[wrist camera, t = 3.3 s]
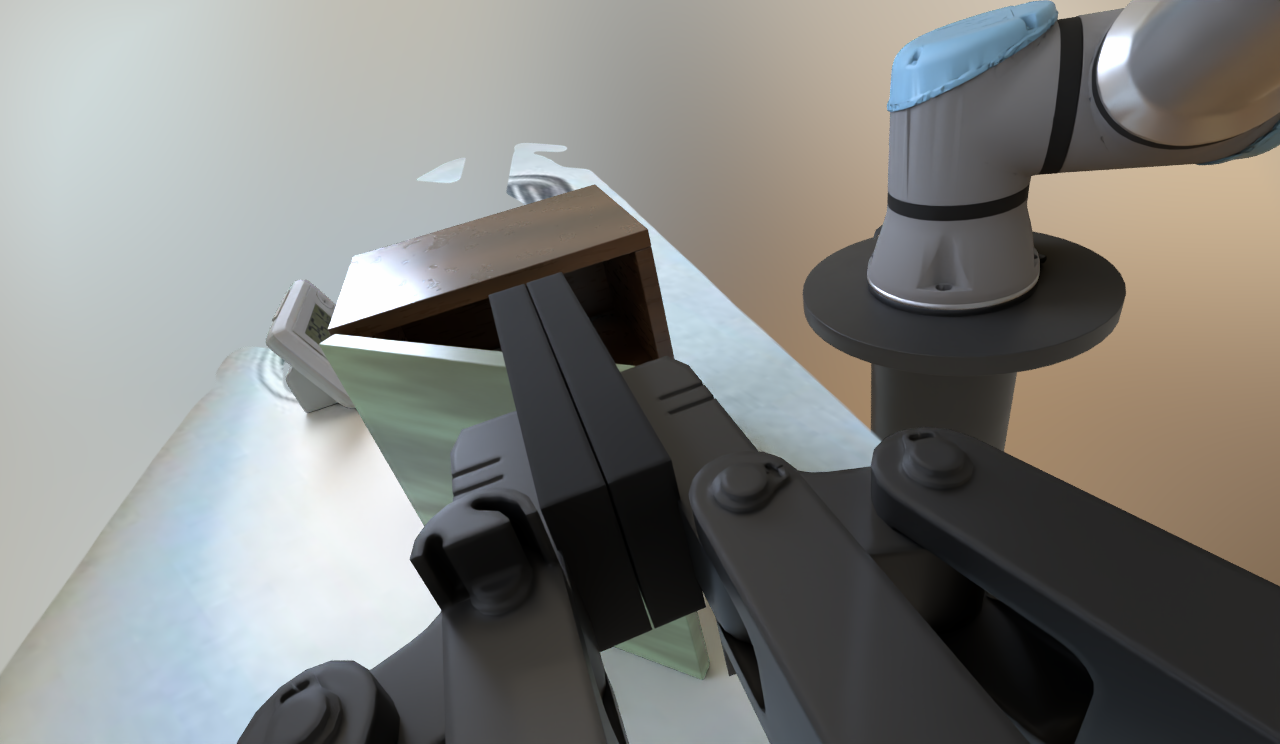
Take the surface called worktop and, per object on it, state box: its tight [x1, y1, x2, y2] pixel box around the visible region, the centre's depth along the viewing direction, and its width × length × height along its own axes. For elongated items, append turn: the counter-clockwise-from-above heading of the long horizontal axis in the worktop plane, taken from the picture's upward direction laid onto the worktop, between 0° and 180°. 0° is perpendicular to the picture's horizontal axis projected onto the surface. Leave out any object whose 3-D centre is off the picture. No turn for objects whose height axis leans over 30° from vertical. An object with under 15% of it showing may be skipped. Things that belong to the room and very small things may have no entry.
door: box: [319, 334, 710, 680], centre depth 28 cm, size 6×17×19 cm, turn 63°
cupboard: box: [328, 185, 674, 366], centre depth 40 cm, size 12×17×19 cm
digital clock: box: [266, 280, 355, 412], centre depth 64 cm, size 16×9×11 cm, turn 8°
